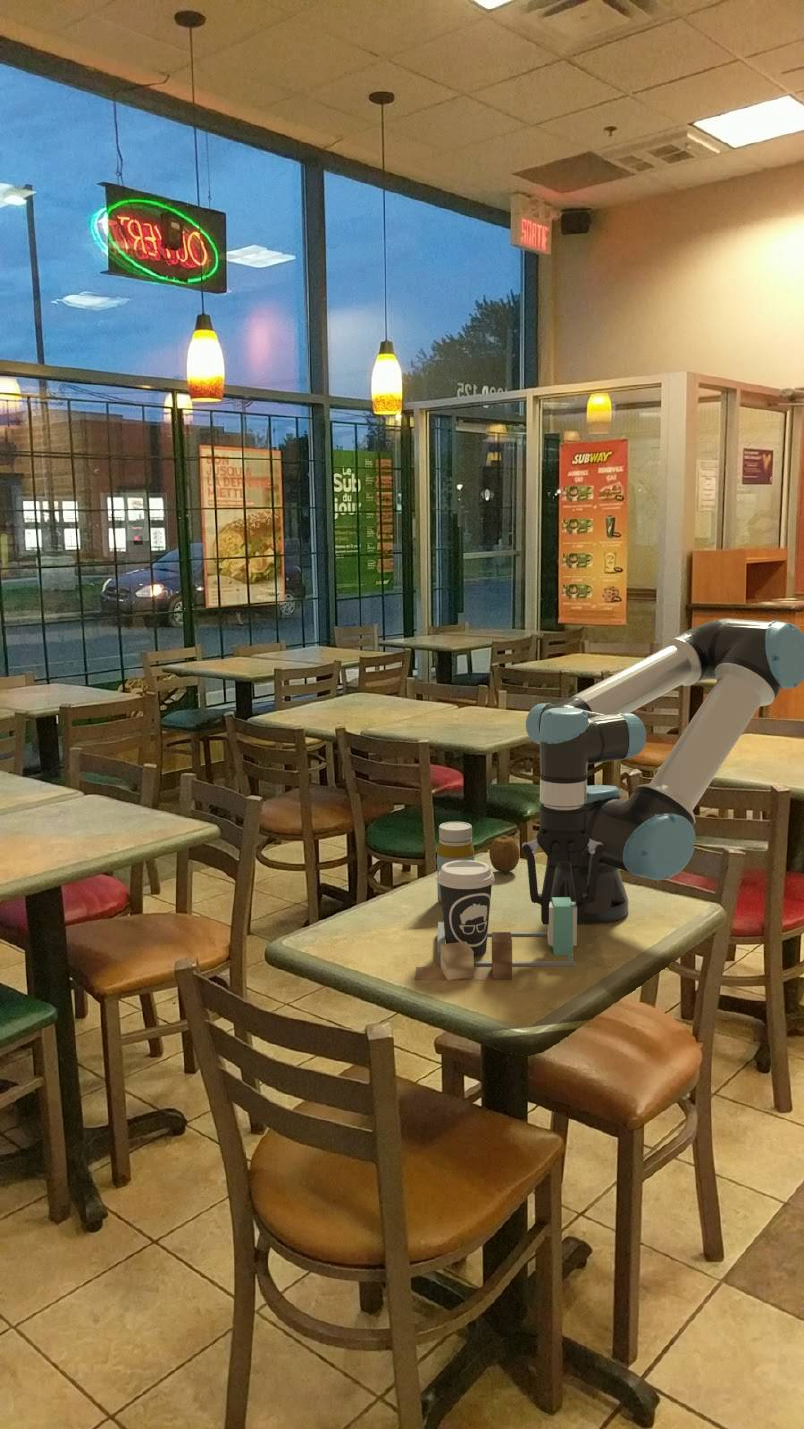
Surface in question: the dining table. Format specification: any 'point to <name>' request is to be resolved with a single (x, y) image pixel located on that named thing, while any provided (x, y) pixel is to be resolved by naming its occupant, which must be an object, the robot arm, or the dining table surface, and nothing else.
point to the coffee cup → (466, 902)
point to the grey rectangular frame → (561, 935)
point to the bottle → (454, 845)
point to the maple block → (457, 960)
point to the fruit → (504, 854)
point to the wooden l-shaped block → (497, 972)
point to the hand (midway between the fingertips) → (562, 942)
